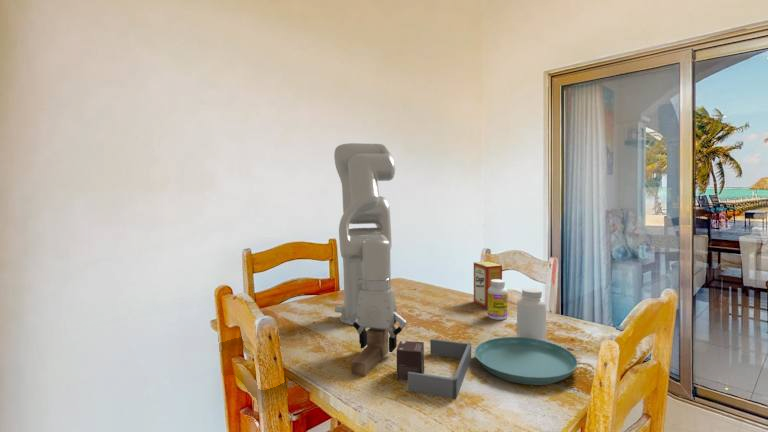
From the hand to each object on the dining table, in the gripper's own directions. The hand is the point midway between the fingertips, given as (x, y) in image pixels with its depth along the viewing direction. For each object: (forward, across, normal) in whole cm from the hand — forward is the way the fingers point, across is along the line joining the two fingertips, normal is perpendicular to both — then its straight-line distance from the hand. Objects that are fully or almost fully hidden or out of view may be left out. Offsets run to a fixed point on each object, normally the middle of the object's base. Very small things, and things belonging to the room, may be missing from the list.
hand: (377, 348), depth 109 cm
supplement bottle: (+2, +28, +42) cm, 51 cm away
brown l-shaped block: (+2, 0, -5) cm, 5 cm away
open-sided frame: (+2, +18, -6) cm, 19 cm away
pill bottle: (+2, +39, +23) cm, 45 cm away
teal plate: (+2, +37, +5) cm, 38 cm away
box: (+2, +12, -9) cm, 15 cm away
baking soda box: (+2, +23, +57) cm, 61 cm away
